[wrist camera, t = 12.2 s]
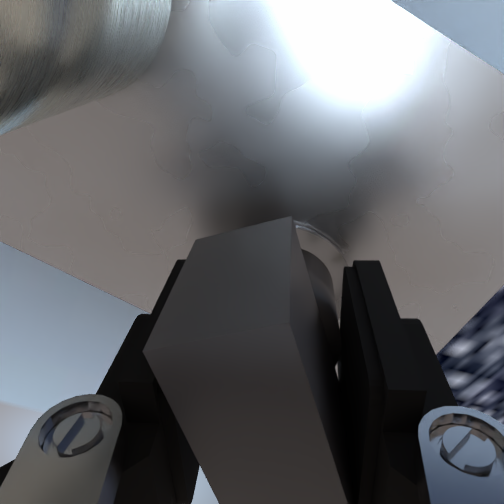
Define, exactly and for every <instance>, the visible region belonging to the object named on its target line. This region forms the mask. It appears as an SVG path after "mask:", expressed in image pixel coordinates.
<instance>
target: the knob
mask: <svg viewBox="0 0 504 504" xmlns="http://www.w3.org/2000/svg"><path fill="white" fill-rule="evenodd" d="M143 353H144V355H145V357H146V359H147V361H148V363H149V365H150V367H151V369H152V371H153V373H154V375H155V377H156V379H157V381H158V383H159V385H160V387H161V389H162V391H163V393H164V395H165V397H166V399H167V401H168V403H169V405H170V407H171V409H172V411H173V413H174V415H175V417H176V419H177V421H178V423H179V425H180V427H181V429H182V431H183V433H184V435H185V437H186V439H187V441H188V443H189V445H190V447H191V449H192V451H193V453H194V455H195V456H196V458H197V460H198V462H199V464H200V466H201V468H202V470H203V472H204V474H205V476H206V478H207V480H208V482H209V484H210V486H211V488H212V490H213V492H214V494H215V496H216V498H217V500H218V502H219V504H354V497H353V489H352V481H351V473H350V465H349V457H348V449H347V441H346V433H345V425H344V417H343V409H342V401H341V393H340V385H339V380H338V376H337V373H336V369H335V366H336V365H337V363H338V361H339V358H340V355H341V336H340V329H339V322H338V315H337V308H336V301H335V294H334V288H333V281H332V277H331V274H330V272H329V270H328V268H327V267H326V266H325V264H324V263H323V262H322V261H321V260H320V259H319V258H318V257H316V256H315V255H314V254H312V253H310V252H308V251H306V250H304V249H301V246H300V243H299V239H298V236H297V232H296V229H295V225H294V222H293V218H292V216H289V217H285V218H281V219H277V220H272V221H268V222H264V223H260V224H256V225H252V226H248V227H244V228H240V229H236V230H232V231H228V232H224V233H220V234H216V235H212V236H208V237H204V238H200V239H196V240H195V242H194V244H193V246H192V248H191V250H190V252H189V254H188V256H187V259H186V261H185V263H184V265H183V267H182V269H181V271H180V273H179V275H178V278H177V280H176V282H175V284H174V286H173V288H172V290H171V292H170V294H169V297H168V299H167V301H166V303H165V305H164V307H163V309H162V311H161V313H160V316H159V318H158V320H157V322H156V324H155V326H154V328H153V330H152V332H151V335H150V337H149V339H148V341H147V343H146V345H145V347H144V349H143Z"/></svg>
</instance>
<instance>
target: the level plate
mask: <svg viewBox="0 0 504 504" xmlns="http://www.w3.org/2000/svg"><path fill="white" fill-rule="evenodd" d="M289 216H292V218H293V222H294V225H295V229H296V232H297V236H298V239H299V243H300V246H301V249H304V250H306V251H308V252H310V253H312V254H314V255H315V256H316V257H318V258H319V259H320V260H321V261H322V262H323V263H324V264H325V266H326V267H327V268H328V270H329V272H330V274H331V277H332V281H333V288H334V294H335V301H336V308H337V315H338V322H339V329H340V314H341V299H342V283H343V270H344V266H350V267H352V265H353V261H354V260H379V261H380V263H381V266H382V269H383V271H384V274H385V277H386V280H387V282H388V285H389V288H390V291H391V293H392V296H393V299H394V302H395V304H396V307H397V310H398V313H399V315H400V318H418V319H419V320H420V321H421V322H422V324H423V326H424V328H425V331H426V333H427V335H428V338H429V340H430V342H431V345H432V347H433V349H434V352H435V354H437V353H438V352H439V351H440V350H441V349H442V348H443V347H444V346H445V345H446V344H447V343H448V342H449V341H450V340H451V339H452V338H453V337H454V336H455V335H456V334H457V332H458V331H459V330H460V329H461V328H462V327H463V326H464V325H465V324H466V323H467V322H468V321H469V320H470V319H471V318H472V317H473V316H474V315H475V314H476V313H477V312H478V311H479V310H480V309H481V308H482V307H483V306H484V305H485V304H486V303H487V302H488V301H489V300H490V298H491V297H492V296H493V295H494V294H495V293H496V292H497V291H498V290H499V289H500V288H501V287H502V286H503V285H504V74H503V73H502V72H500V71H498V70H497V69H495V68H494V67H492V66H491V65H489V64H488V63H486V62H485V61H483V60H481V59H480V58H478V57H477V56H475V55H474V54H472V53H471V52H469V51H468V50H466V49H465V48H463V47H461V46H460V45H458V44H457V43H455V42H454V41H452V40H451V39H449V38H448V37H446V36H444V35H443V34H441V33H440V32H438V31H437V30H435V29H434V28H432V27H431V26H429V25H427V24H426V23H424V22H423V21H421V20H420V19H418V18H417V17H415V16H414V15H412V14H411V13H409V12H407V11H406V10H404V9H403V8H401V7H400V6H398V5H397V4H395V3H394V2H392V1H390V0H0V241H1V242H3V243H5V244H7V245H9V246H12V247H14V248H16V249H18V250H20V251H22V252H24V253H26V254H28V255H30V256H32V257H34V258H36V259H38V260H41V261H43V262H45V263H47V264H49V265H51V266H53V267H55V268H57V269H59V270H61V271H63V272H65V273H67V274H70V275H72V276H74V277H76V278H78V279H80V280H82V281H84V282H86V283H88V284H90V285H92V286H94V287H96V288H99V289H101V290H103V291H105V292H107V293H109V294H111V295H113V296H115V297H117V298H119V299H121V300H123V301H125V302H128V303H130V304H132V305H134V306H136V307H138V308H140V309H142V310H144V311H146V312H148V313H150V314H151V312H152V310H153V308H154V306H155V304H156V302H157V300H158V298H159V296H160V294H161V292H162V290H163V287H164V285H165V283H166V281H167V279H168V277H169V275H170V273H171V271H172V269H173V267H174V265H175V263H176V261H177V260H178V259H187V256H188V254H189V252H190V250H191V248H192V246H193V244H194V242H195V240H196V239H200V238H204V237H208V236H212V235H216V234H220V233H224V232H228V231H232V230H236V229H240V228H244V227H248V226H252V225H256V224H260V223H264V222H268V221H272V220H277V219H281V218H285V217H289ZM335 369H336V373H337V376H338V367H337V365H336V366H335Z"/></svg>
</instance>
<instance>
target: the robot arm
mask: <svg viewBox="0 0 504 504" xmlns="http://www.w3.org/2000/svg"><path fill="white" fill-rule="evenodd" d="M185 261H186V259H178V260H177V261H176V263H175V265H174V267H173V269H172V271H171V273H170V275H169V277H168V279H167V281H166V283H165V285H164V287H163V290H162V292H161V294H160V296H159V298H158V300H157V302H156V304H155V306H154V308H153V310H152V312H151V314H140V315H138V316H137V318H136V319H135V321H134V323H133V325H132V327H131V329H130V330H129V332H128V334H127V336H126V338H125V340H124V342H123V344H122V346H121V347H120V349H119V351H118V353H117V355H116V357H115V359H114V361H113V363H112V365H111V366H110V368H109V370H108V372H107V374H106V376H105V378H104V380H103V382H102V384H101V385H100V387H99V389H98V391H97V393H96V395H95V394H88V395H81V396H76V397H73V398H70V399H67V400H64V401H62V402H60V403H59V404H57V405H55V406H53V407H52V408H50V409H49V410H48V411H47V412H45V413H44V414H43V415H42V416H41V417H40V418H39V419H38V420H37V422H36V423H35V424H34V426H33V427H32V429H31V430H30V432H29V434H28V436H27V438H26V440H25V442H24V444H23V446H22V448H21V449H20V451H19V453H18V455H17V457H16V459H15V460H13V461H11V462H9V463H7V464H5V465H4V466H2V467H0V504H191V502H192V499H193V495H194V490H195V485H196V480H197V476H198V470H199V466H200V464H199V462H198V460H197V458H196V456H195V455H194V453H193V451H192V449H191V447H190V445H189V443H188V441H187V439H186V437H185V435H184V433H183V431H182V429H181V427H180V425H179V423H178V421H177V419H176V417H175V415H174V413H173V411H172V409H171V407H170V405H169V403H168V401H167V399H166V397H165V395H164V393H163V391H162V389H161V387H160V385H159V383H158V381H157V379H156V377H155V375H154V373H153V371H152V369H151V367H150V365H149V363H148V361H147V359H146V357H145V355H144V353H143V349H144V347H145V345H146V343H147V341H148V339H149V337H150V335H151V332H152V330H153V328H154V326H155V324H156V322H157V320H158V318H159V316H160V313H161V311H162V309H163V307H164V305H165V303H166V301H167V299H168V297H169V294H170V292H171V290H172V288H173V286H174V284H175V282H176V280H177V278H178V275H179V273H180V271H181V269H182V267H183V265H184V263H185ZM340 336H341V355H340V358H339V361H338V363H337V367H338V380H339V385H340V393H341V401H342V409H343V417H344V425H345V433H346V441H347V449H348V457H349V465H350V473H351V481H352V489H353V497H354V504H504V425H503V424H501V423H500V422H498V421H497V420H495V419H494V418H492V417H490V416H489V415H486V414H484V413H482V412H479V411H477V410H474V409H470V408H465V407H460V406H458V405H457V403H456V401H455V398H454V396H453V394H452V391H451V389H450V387H449V384H448V382H447V380H446V377H445V375H444V373H443V370H442V368H441V366H440V363H439V361H438V359H437V356H436V354H435V352H434V349H433V347H432V345H431V342H430V340H429V338H428V335H427V333H426V331H425V328H424V326H423V324H422V322H421V321H420V320H419V319H418V318H400V315H399V313H398V310H397V307H396V304H395V302H394V299H393V296H392V293H391V291H390V288H389V285H388V282H387V280H386V277H385V274H384V271H383V269H382V266H381V263H380V261H379V260H354V261H353V265H352V267H350V266H344V270H343V283H342V299H341V314H340Z"/></svg>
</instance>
